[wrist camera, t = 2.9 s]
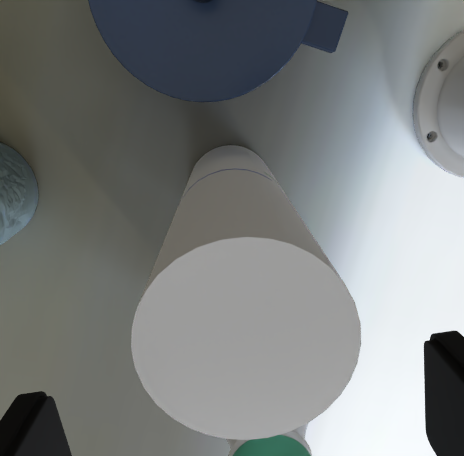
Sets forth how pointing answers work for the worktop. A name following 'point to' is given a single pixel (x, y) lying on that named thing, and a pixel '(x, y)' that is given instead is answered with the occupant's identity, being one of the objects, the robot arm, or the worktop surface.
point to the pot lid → (203, 42)
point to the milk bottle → (273, 445)
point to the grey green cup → (15, 192)
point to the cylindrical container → (243, 309)
